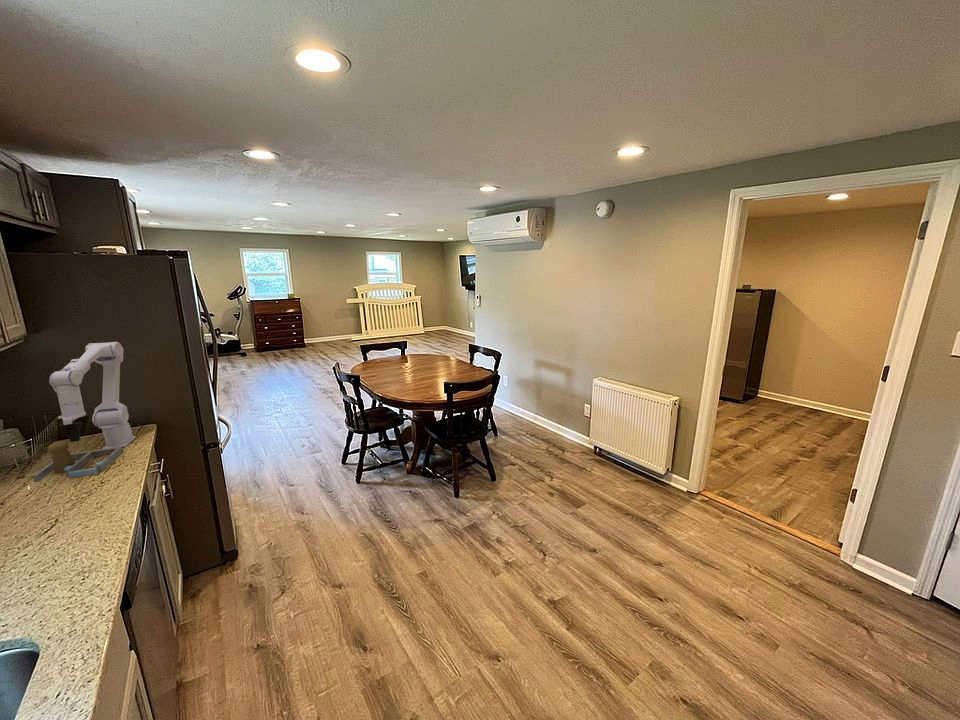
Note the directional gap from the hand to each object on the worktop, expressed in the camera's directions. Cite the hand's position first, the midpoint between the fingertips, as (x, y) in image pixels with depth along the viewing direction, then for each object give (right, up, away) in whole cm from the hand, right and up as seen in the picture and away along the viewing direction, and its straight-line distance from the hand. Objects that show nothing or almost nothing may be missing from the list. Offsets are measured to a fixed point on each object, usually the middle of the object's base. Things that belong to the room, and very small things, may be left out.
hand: (78, 438), depth 140 cm
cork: (-8, -13, +3) cm, 15 cm away
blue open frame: (-4, -12, +5) cm, 14 cm away
